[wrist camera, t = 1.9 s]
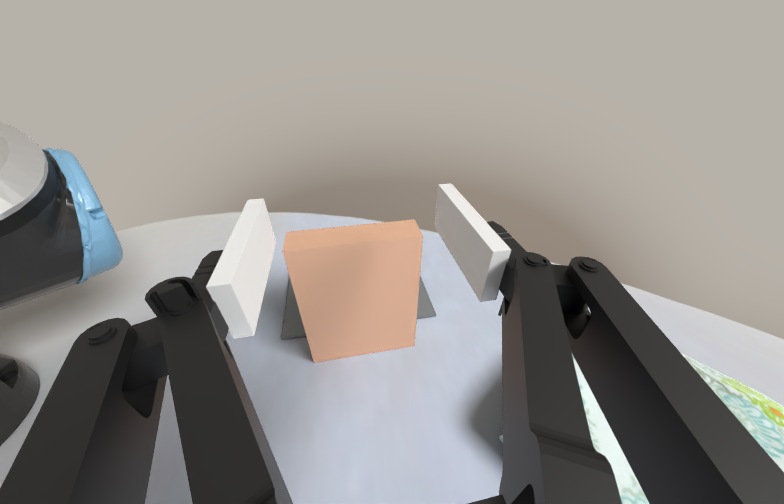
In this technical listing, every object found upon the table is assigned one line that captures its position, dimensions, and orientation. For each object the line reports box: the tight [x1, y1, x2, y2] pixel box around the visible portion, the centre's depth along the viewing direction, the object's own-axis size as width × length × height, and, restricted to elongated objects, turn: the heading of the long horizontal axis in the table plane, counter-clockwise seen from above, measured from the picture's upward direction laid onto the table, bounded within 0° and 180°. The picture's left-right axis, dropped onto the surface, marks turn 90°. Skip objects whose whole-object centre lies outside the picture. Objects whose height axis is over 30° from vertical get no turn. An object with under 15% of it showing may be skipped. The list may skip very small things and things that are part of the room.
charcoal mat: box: [281, 277, 436, 340], centre depth 44 cm, size 20×17×1 cm
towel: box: [499, 353, 784, 504], centre depth 25 cm, size 18×21×5 cm
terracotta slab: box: [283, 220, 423, 363], centre depth 30 cm, size 12×3×16 cm, turn 101°
